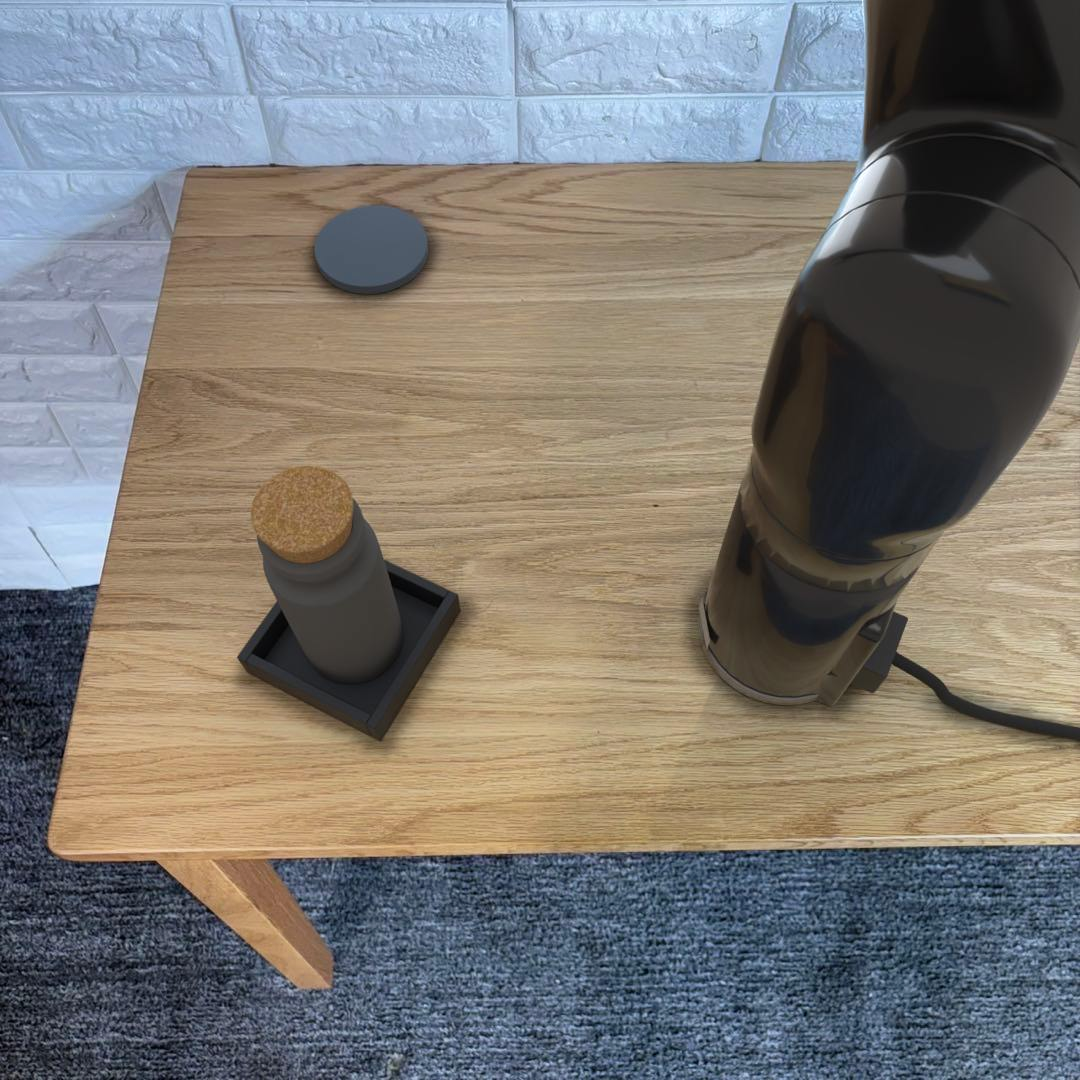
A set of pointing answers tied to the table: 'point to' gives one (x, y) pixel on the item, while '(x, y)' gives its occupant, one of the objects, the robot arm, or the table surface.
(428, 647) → the tray
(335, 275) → the mat
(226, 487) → the table surface
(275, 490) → the bottle
